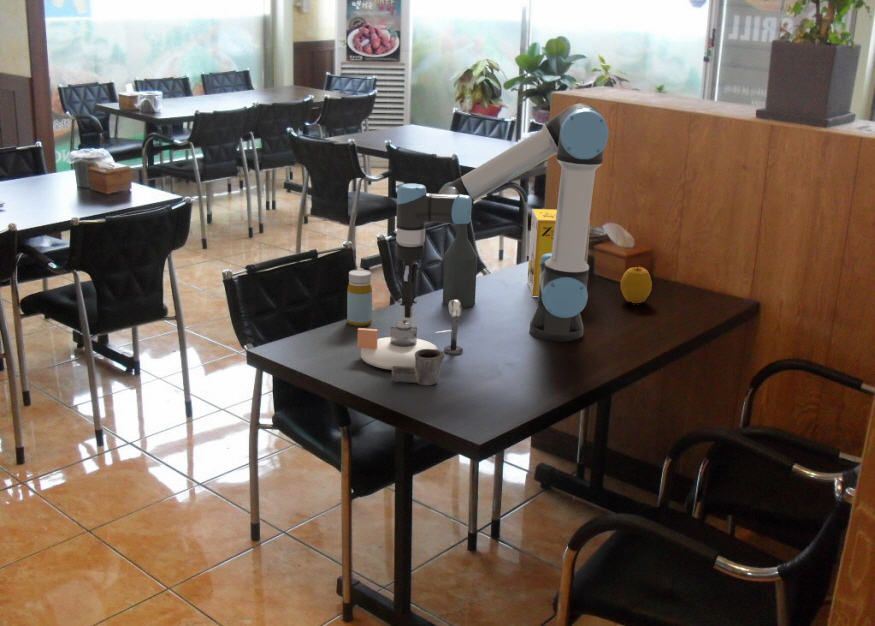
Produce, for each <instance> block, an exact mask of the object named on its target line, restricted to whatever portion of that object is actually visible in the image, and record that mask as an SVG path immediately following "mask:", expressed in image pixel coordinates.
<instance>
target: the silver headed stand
mask: <svg viewBox="0 0 875 626" xmlns="http://www.w3.org/2000/svg"><path fill="white" fill-rule="evenodd" d="M447 308H448V312H449V314H450V316H451V328H450V329H448V330H442V331H435V334H436V335H437V334H438V335H439V334H446V333H450V345H447V346H444V348H443V353H444V354H446V355H450V356H458V355H461V354H464V353H463V351H464V349H463V347H462V346H459V345H458V343H457V341H458V321H459V320H458V319H459V317H461V315H462V312H463V309H462V306H461V303H460V301H459V300H451V301H450V302H449V305H448V306H447Z"/></svg>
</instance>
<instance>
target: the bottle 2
mask: <svg viewBox="0 0 875 626" xmlns="http://www.w3.org/2000/svg"><path fill="white" fill-rule="evenodd" d="M456 226H457V227H456V232H455V233H456V234H455V238H454V240H453V241H452V243H451V244H450V246H449V247H448V249H447V250H446V251H445V253H444V256H443V257H444V258H443V278H442V279H443V280H442V283H443V285H442V303H443V305H444V306H445V307H448V305H449V302H450V301H451V300H459V301H460V303H461V306H462V310H463V309H470V308H472V307H474V305H475V303H476V293H477V292H476V291H477V290H476V289H477V288H476V287H477V273H478V272H477V268H478V253H477V252H476V250H475V249H474V247H473V245H472V243H471V242H470V240H469V237H468V223H467V224H456Z"/></svg>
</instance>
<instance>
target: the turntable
mask: <svg viewBox="0 0 875 626" xmlns="http://www.w3.org/2000/svg"><path fill="white" fill-rule="evenodd" d="M378 336H379V335H378V329H376V328H375V329H374V328H365V327H363V328H362V327H358V328H357V349H360V357H361V360H362V361H363V362H365V363H366V364H368V365H370V366H373V367H376V368H380V369H385V370H390V371H392V367H393V366H400V367H415V364H416V363H415V353H416V352H417V351H418V350H421V349H434V350H439V349H438V347H437V345H435V344H434V343H433V342H430V341H427V340H424V339H421V338H417V343H416V344H415V345H414V346H410V347H399V346H395V345H392V344H391V343H390V336H387V337H381V338H379V337H378Z"/></svg>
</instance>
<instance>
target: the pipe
mask: <svg viewBox="0 0 875 626" xmlns="http://www.w3.org/2000/svg"><path fill="white" fill-rule="evenodd" d="M445 354H446V353H445V352H444V351H442V350H439V349H438V350H434V349H421V350H418V351H417V352H416V353H415V363H416V364H415V367H400V366H393V367H392V370H391V382H394V383H402V384H403V383H405V384H406V383H408V384H409V383H410V384H419V385H421V386H433V385H435V384H437V383H438V382H439V377H440V370H441V366H442V363H443V360H444V359H445V357H446V355H445Z"/></svg>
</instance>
